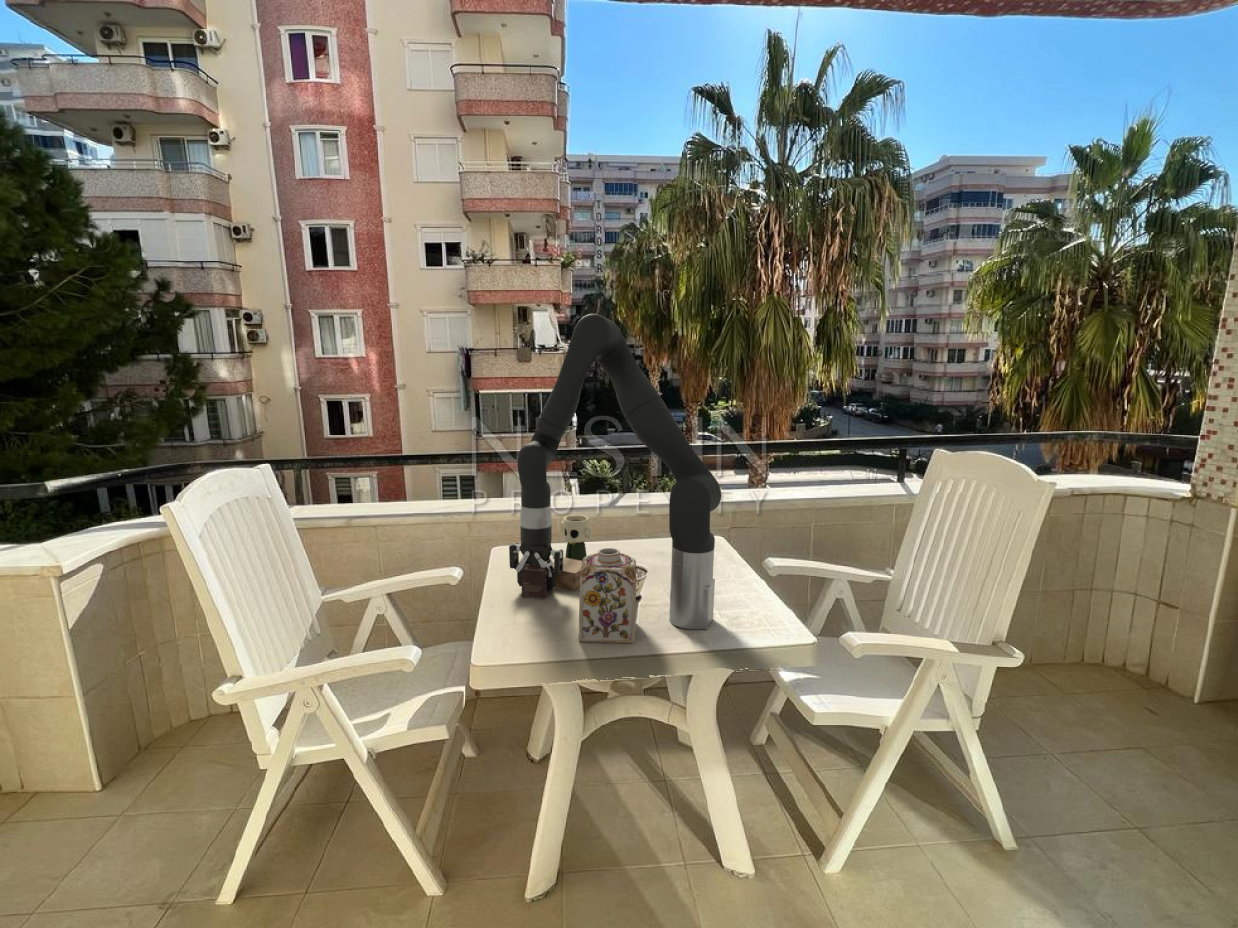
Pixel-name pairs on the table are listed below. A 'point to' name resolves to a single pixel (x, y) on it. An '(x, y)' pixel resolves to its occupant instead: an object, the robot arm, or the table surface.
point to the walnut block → (569, 575)
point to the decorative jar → (607, 597)
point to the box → (534, 582)
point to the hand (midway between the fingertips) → (536, 587)
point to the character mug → (576, 535)
